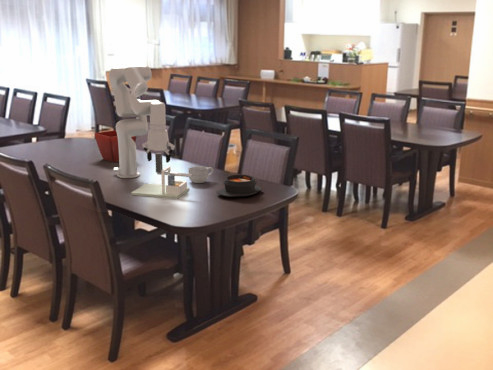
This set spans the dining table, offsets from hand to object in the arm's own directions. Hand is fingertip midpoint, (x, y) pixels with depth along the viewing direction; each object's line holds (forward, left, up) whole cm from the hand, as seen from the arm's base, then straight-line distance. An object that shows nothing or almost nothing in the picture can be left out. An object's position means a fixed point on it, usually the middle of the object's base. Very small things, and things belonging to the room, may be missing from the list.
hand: (158, 161), depth 284 cm
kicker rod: (+8, 0, -14) cm, 16 cm away
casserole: (+40, +9, -16) cm, 44 cm away
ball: (+10, 0, -13) cm, 16 cm away
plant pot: (-54, +60, -16) cm, 82 cm away
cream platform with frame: (+1, 0, -16) cm, 16 cm away
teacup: (+14, +25, -16) cm, 33 cm away
